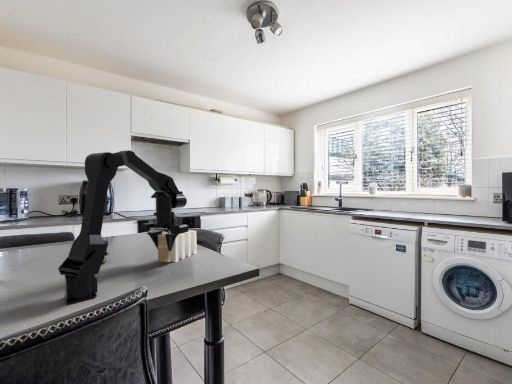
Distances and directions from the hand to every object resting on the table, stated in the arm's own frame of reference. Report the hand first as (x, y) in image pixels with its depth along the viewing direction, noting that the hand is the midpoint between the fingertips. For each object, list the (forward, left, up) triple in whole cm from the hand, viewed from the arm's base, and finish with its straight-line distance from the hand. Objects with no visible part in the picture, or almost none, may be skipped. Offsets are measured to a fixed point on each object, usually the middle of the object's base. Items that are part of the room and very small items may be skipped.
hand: (164, 250), depth 97 cm
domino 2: (+4, +2, -5) cm, 6 cm away
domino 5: (+15, +7, -5) cm, 17 cm away
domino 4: (+11, +5, -5) cm, 13 cm away
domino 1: (0, 0, -4) cm, 4 cm away
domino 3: (+7, +3, -5) cm, 9 cm away
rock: (-21, +19, -6) cm, 29 cm away
